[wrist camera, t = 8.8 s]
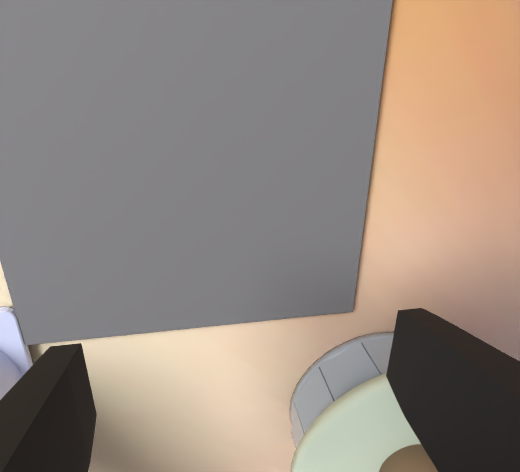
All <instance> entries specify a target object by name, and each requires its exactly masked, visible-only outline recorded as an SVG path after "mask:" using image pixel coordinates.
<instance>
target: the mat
mask: <svg viewBox="0 0 520 472" xmlns="http://www.w3.org/2000/svg"><path fill="white" fill-rule="evenodd" d="M392 1H393V0H0V261H1V265H2V268H3V272H4V275H5V279H6V282H7V285H8V289H9V292H10V296H11V299H12V303H13V306H14V310H15V313H16V317H17V320H18V323H19V327H20V330H21V334H22V337H23V341H24V344H25V345H33V344H42V343H52V342H62V341H72V340H81V339H91V338H101V337H111V336H121V335H130V334H140V333H150V332H160V331H170V330H179V329H189V328H199V327H209V326H219V325H228V324H238V323H248V322H258V321H267V320H277V319H287V318H297V317H307V316H316V315H326V314H336V313H346V312H353V305H354V297H355V290H356V282H357V274H358V266H359V258H360V251H361V243H362V235H363V227H364V219H365V212H366V204H367V196H368V188H369V181H370V173H371V165H372V157H373V149H374V142H375V134H376V126H377V118H378V110H379V103H380V95H381V87H382V79H383V71H384V64H385V56H386V48H387V40H388V32H389V25H390V17H391V9H392Z"/></svg>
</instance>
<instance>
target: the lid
mask: <svg viewBox="0 0 520 472" xmlns="http://www.w3.org/2000/svg"><path fill="white" fill-rule="evenodd" d="M386 374H387V373H384V374H382V375H379V376H377V377H375V378H372V379H370V380H368V381H366V382H364V383H362V384H360V385H358V386H357V387H355V388H353V389H351V390H350V391H348V392H347V393H345V394H344V395H342V396H341V397H339V398H338V399H337V400H336V401H335V402H333V403H332V404H331V405H330V406H328V407H327V408H326V409H325V410H324V411H323V412H322V413H321V414H320V415H319V416H318V417H317V418H316V419H315V420H314V422H313V423H312V424H311V425H310V427H309V428H308V429H307V430H306V432H305V434H304V435H303V437H302V438H301V440H300V442H299V444H298V446H297V448H296V450H295V453H294V456H293V460H292V463H291V472H438V471H437V469H436V467H435V466H434V464H433V462H432V461H431V459H430V458H429V456H428V454H427V453H426V451H425V450H424V448H423V446H422V445H421V443H420V441H419V440H418V438H417V436H416V435H415V433H414V431H413V430H412V428H411V427H410V425H409V423H408V421H407V420H406V418H405V416H404V414H403V412H402V410H401V408H400V406H399V404H398V402H397V400H396V398H395V395H394V393H393V391H392V388H391V386H390V384H389V382H388V379H387V377H386Z"/></svg>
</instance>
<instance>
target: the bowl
mask: <svg viewBox="0 0 520 472" xmlns="http://www.w3.org/2000/svg"><path fill="white" fill-rule="evenodd" d="M393 336H394V332H380V333H373V334H368V335H364V336H360V337H357V338H354V339H352V340H349V341H347V342H344V343H342V344H340V345H339V346H337V347H335V348H333V349H332V350H330V351H329V352H327V353H326V354H324V355H323V356H322V357H320V358H319V359H318V360H317V361H316V362H315V363H314V364H313V365H312V366H311V367H309V369H308V370H307V371H306V372H305V374H304V375H303V376H302V378H301V379H300V381H299V382H298V384H297V386H296V388H295V390H294V392H293V395H292V398H291V403H290V420H291V424H292V427H291V434H292V438H293V441H294V444H295V448H297V446H298V444H299V442H300V440H301V438H302V437H303V435H304V434H305V432H306V430H307V429H308V428H309V427H310V425H311V424H312V423H313V422H314V420H315V419H316V418H317V417H318V416H319V415H320V414H321V413H322V412H323V411H324V410H325V409H326V408H327V407H328V406H330V405H331V404H332V403H333V402H335V401H336V400H337V399H338V398H339V397H341V396H342V395H344V394H345V393H347V392H348V391H350V390H351V389H353V388H355V387H357V386H358V385H360V384H362V383H364V382H366V381H368V380H370V379H372V378H375V377H377V376H379V375H382V374H384V373H387V368H388V363H389V358H390V352H391V347H392V341H393Z"/></svg>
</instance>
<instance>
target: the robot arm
mask: <svg viewBox="0 0 520 472" xmlns="http://www.w3.org/2000/svg"><path fill="white" fill-rule="evenodd" d="M386 377H387V379H388V382H389V384H390V386H391V388H392V391H393V393H394V395H395V398H396V400H397V402H398V404H399V406H400V408H401V410H402V412H403V414H404V416H405V418H406V420H407V421H408V423H409V425H410V427H411V428H412V430H413V431H414V433H415V435H416V436H417V438H418V440H419V441H420V443H421V445H422V446H423V448H424V450H425V451H426V453H427V454H428V456H429V458H430V459H431V461H432V462H433V464H434V466H435V467H436V469H437V471H438V472H520V362H519V361H518V360H516V359H514V358H512V357H510V356H508V355H507V354H505V353H503V352H501V351H499V350H498V349H496V348H494V347H492V346H490V345H489V344H487V343H485V342H483V341H482V340H480V339H478V338H476V337H474V336H473V335H471V334H469V333H467V332H466V331H464V330H462V329H460V328H459V327H457V326H455V325H453V324H451V323H450V322H448V321H446V320H444V319H442V318H440V317H438V316H437V315H435V314H433V313H431V312H429V311H427V310H424V309H422V308H418V309H408V310H398V314H397V320H396V325H395V330H394V336H393V341H392V347H391V352H390V358H389V363H388V368H387V374H386ZM95 422H96V410H95V405H94V400H93V396H92V391H91V387H90V382H89V377H88V373H87V368H86V363H85V359H84V354H83V349H82V345H81V343H80V344H71V345H61V346H51V347H50V348H49V349H48V350H47V351H46V352H45V353H44V354H43V355H42V356H41V357H40V358H39V359H38V360H37V361H36V362H35V363H34V364H33V362H32V359H31V355H30V352H29V348H28V345H25V344H24V341H23V337H22V334H21V330H20V327H19V323H18V320H17V317H16V313H15V310H14V309H12V308H10V307H0V472H88V469H89V464H90V458H91V452H92V445H93V438H94V430H95Z"/></svg>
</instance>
